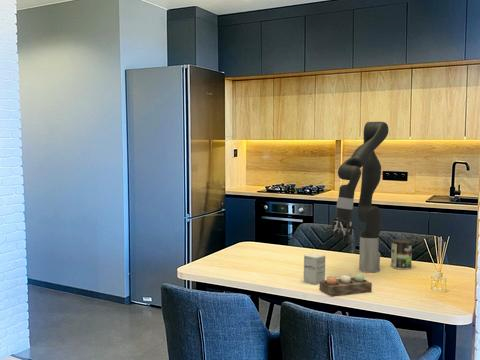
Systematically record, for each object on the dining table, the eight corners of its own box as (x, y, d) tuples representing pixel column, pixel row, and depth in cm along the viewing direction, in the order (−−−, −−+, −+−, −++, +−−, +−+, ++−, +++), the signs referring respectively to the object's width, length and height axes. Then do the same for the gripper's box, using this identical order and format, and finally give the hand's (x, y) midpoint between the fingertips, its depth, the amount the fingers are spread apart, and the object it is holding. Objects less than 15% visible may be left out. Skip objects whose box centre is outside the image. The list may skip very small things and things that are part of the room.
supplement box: (302, 281, 223) (303, 254, 222) (312, 278, 228) (313, 252, 227) (315, 285, 217) (316, 257, 216) (325, 281, 223) (325, 255, 222)
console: (358, 285, 217) (358, 276, 216) (371, 291, 207) (371, 282, 207) (319, 289, 210) (319, 280, 210) (331, 296, 201) (331, 287, 200)
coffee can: (415, 267, 249) (416, 240, 248) (404, 270, 243) (405, 243, 242) (397, 263, 257) (398, 237, 256) (386, 266, 251) (387, 240, 250)
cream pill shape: (346, 281, 211) (347, 274, 211) (351, 284, 207) (352, 277, 207) (338, 282, 210) (339, 275, 209) (343, 285, 206) (344, 277, 206)
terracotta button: (333, 283, 209) (333, 276, 208) (337, 285, 205) (338, 278, 205) (324, 284, 207) (325, 276, 207) (329, 286, 203) (329, 279, 203)
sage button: (360, 280, 213) (360, 273, 213) (365, 282, 210) (365, 275, 209) (352, 281, 212) (352, 274, 212) (357, 283, 208) (358, 276, 208)
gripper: (360, 210, 219) (355, 245, 219) (343, 206, 232) (339, 239, 233) (345, 208, 216) (341, 244, 217) (330, 205, 230) (325, 238, 230)
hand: (340, 241), depth 225 cm, fingers open, 8 cm apart
